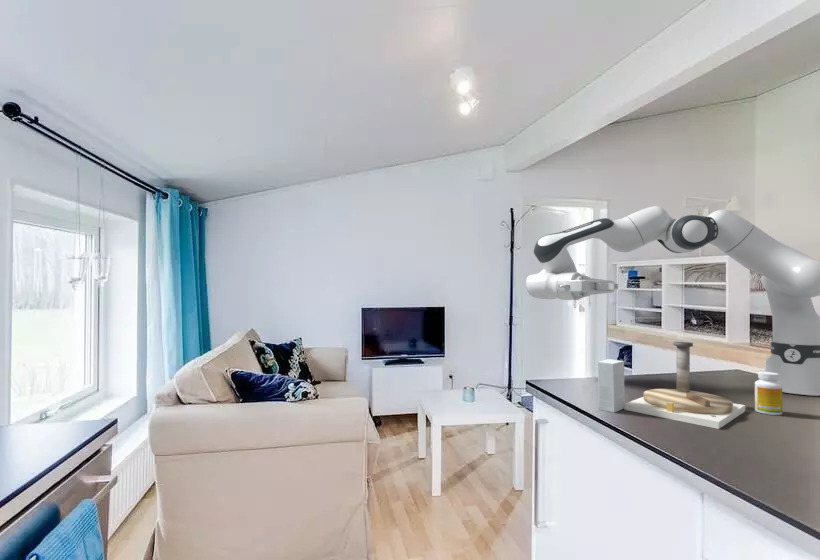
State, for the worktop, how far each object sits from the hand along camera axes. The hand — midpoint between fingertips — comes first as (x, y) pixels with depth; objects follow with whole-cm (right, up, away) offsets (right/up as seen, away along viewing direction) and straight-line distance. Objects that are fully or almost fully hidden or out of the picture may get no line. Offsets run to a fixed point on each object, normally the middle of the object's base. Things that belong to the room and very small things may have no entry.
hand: (615, 286), depth 135 cm
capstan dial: (+8, -29, -21) cm, 37 cm away
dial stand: (+7, -30, -22) cm, 38 cm away
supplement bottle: (+27, -31, -23) cm, 47 cm away
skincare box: (-11, -31, -21) cm, 39 cm away
